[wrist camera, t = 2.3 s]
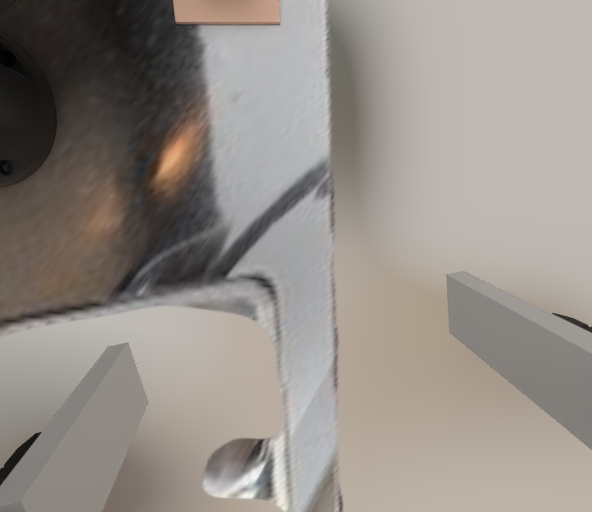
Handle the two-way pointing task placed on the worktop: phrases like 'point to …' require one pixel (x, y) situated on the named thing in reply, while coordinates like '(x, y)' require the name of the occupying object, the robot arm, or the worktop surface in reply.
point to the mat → (227, 11)
